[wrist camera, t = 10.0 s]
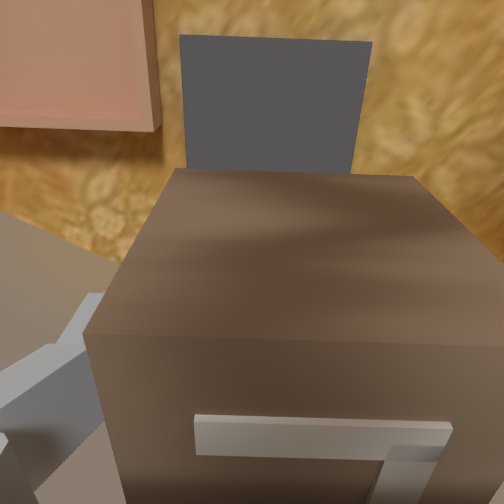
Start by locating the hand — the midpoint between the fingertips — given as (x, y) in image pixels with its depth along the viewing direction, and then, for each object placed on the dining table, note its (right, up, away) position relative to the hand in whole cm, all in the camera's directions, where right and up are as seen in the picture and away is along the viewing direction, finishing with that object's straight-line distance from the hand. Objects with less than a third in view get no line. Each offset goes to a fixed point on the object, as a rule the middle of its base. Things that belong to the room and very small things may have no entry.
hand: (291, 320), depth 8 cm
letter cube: (0, +1, +2) cm, 2 cm away
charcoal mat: (0, +9, +14) cm, 17 cm away
